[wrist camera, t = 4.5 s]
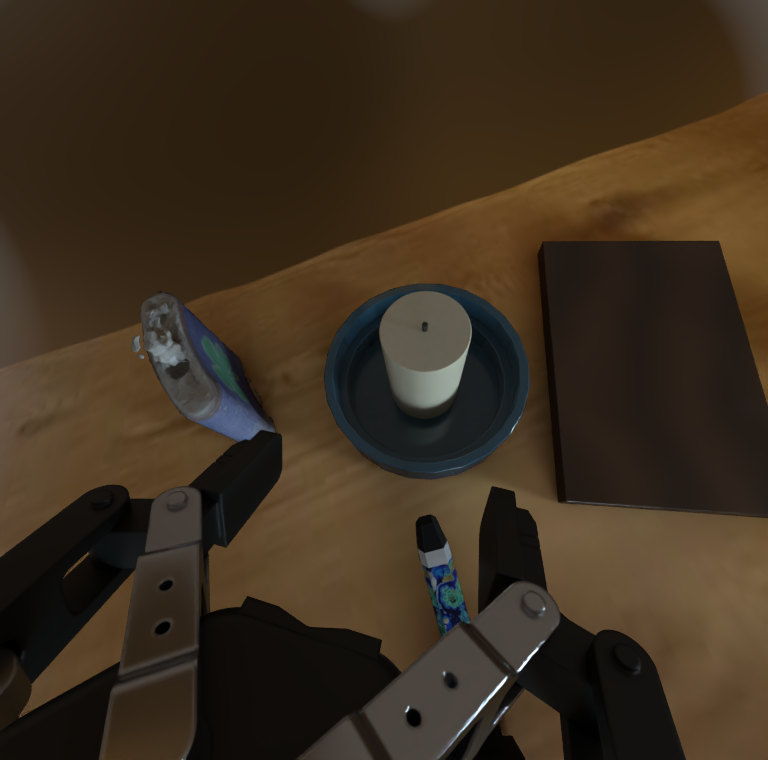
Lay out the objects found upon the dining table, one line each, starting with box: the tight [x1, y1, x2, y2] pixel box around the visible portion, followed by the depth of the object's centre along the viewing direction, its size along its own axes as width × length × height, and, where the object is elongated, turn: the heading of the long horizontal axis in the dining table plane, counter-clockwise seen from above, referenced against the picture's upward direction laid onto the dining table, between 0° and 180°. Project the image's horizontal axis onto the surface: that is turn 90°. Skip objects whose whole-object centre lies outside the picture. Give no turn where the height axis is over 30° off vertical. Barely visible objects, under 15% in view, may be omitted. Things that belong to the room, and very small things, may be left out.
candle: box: [379, 291, 472, 419], centre depth 23 cm, size 5×5×10 cm
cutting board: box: [538, 241, 768, 518], centre depth 27 cm, size 13×20×2 cm, turn 176°
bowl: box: [324, 284, 530, 480], centre depth 26 cm, size 13×13×4 cm
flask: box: [132, 291, 276, 442], centre depth 24 cm, size 9×3×11 cm, turn 32°
